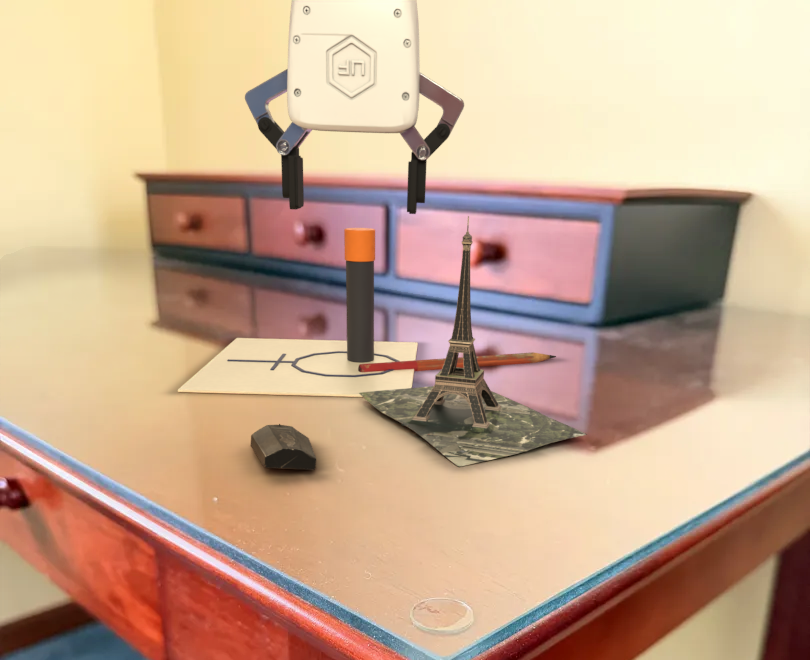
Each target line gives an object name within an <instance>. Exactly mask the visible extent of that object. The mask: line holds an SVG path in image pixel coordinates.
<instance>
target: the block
mask: <svg viewBox="0 0 810 660" xmlns="http://www.w3.org/2000/svg"><path fill="white" fill-rule="evenodd" d="M250 448H251V449H252V451H253V452H254V454H255V455H256V457H257V458H258V460H259V462H260V463H261V465H262V466H263V467H264V468H265V469H283V470H286V469H288V470H304V471H305V470H307V471H308V470H309V471H315V470H316V468H317V456H316V454H315V451H314V449H313V446H312V443H311V440H310V438H309V437H308V436H307V435H305V434H304V433H302V432H300V431H299V430H297V429H296V428H294V426H292V425H285V424H280V423H279V424H265V425H264V426H262V427H261V428H259V429H258V430H256V431H255V432H253V433H252V434H251V435H250Z"/></svg>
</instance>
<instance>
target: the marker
mask: <svg viewBox="0 0 810 660" xmlns="http://www.w3.org/2000/svg"><path fill="white" fill-rule="evenodd" d="M343 229H344V230H343V233H344V234H343V235H344V236H343V237H344V238H343V239H344V244H343V245H344V261H345V288H346V289H345V292H346V293H345V295H346V301H345V303H346V341H347V360H348V361H351V362H358V363H364V362H371V361H373V360H374V341H375V261H376V229H375V228H370V227H347V228H343Z"/></svg>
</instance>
